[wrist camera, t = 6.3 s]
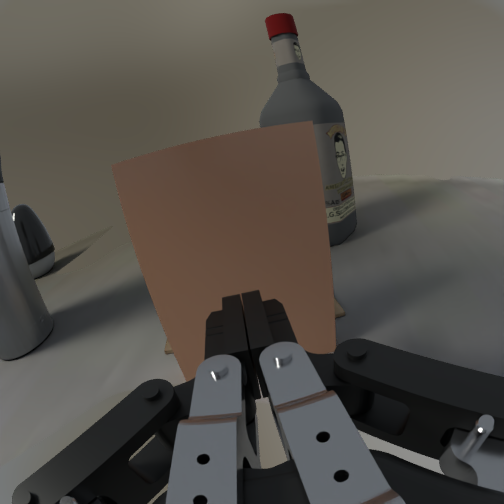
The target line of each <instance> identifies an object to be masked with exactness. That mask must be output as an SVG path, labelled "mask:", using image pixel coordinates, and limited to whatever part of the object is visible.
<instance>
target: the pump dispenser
mask: <svg viewBox="0 0 504 504" xmlns="http://www.w3.org/2000/svg"><path fill="white" fill-rule="evenodd" d="M11 214H12V217H13V221H14V224H15V227H16V231H17V234H18V237H19V240H20V243H21V246H22V249H23V252H24V254H25V257H26V260H27V263H28V265H29V268H30V270H31V273H32V275H33V278H34V279H35V278H38V277H40V276H42V275H44V274H46V273H47V272H48V271H50V269H51V268H52V266H53V264H54V260H55V254H54V250H55V248H54V245H53V242H52V240H51V238H50V236H49V234H48V232H47V230H46V228H45V227H44V225H43V224H42V222H41V221H40V219H39V217H38V216H37V215H36V213H35V212H34V211H33V210H32V209H31V208H30V207H29V206H28V205H25V204H19V205H18V206H16V207H14V209H13V210H12V212H11Z"/></svg>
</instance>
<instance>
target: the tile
mask: <svg viewBox="0 0 504 504" xmlns="http://www.w3.org/2000/svg"><path fill="white" fill-rule="evenodd" d="M112 171H113V175H114V179H115V183H116V187H117V191H118V195H119V199H120V202H121V206H122V209H123V213H124V216H125V220H126V224H127V227H128V230H129V233H130V237H131V240H132V243H133V246H134V250H135V253H136V256H137V259H138V262H139V265H140V268H141V271H142V273H143V276H144V279H145V282H146V285H147V287H148V290H149V293H150V296H151V298H152V301H153V304H154V306H155V309H156V311H157V314H158V316H159V319H160V321H161V324H162V326H163V329H164V331H165V334H166V336H167V338H168V341H169V343H170V345H171V348H172V350H173V352H174V355H175V357H176V359H177V361H178V364H179V366H180V368H181V370H182V372H183V374H184V377H185V379H186V381H187V382H188V381H190V380H191V379H193V378H195V376H196V371H197V368H198V366H199V365H200V364H201V363H202V362H203V361H204V356H205V337H206V336H205V331H206V319H207V318H208V316H209V315H210V313H211V312H214V311H219V310H222V297H226V296H231V295H236V294H240V296H241V300H242V295H241V293H245V292H250V291H254V290H259V291H260V295H261V298H262V301H266V300H270V299H276V300H278V301H279V302H280V303H282V304H283V306H284V309H285V311H286V314H287V316H288V320H289V321H290V324H291V326H292V329H293V331H294V334H295V337H296V339H297V342H298V344H299V345H300V346H302V347H303V348H304V350H306V351H308V352H310V353H315V354H326V353H330V352H333V351H335V349H336V330H335V309H334V292H333V278H332V265H331V253H330V243H329V233H328V224H327V215H326V207H325V199H324V191H323V184H322V177H321V170H320V163H319V157H318V151H317V145H316V139H315V133H314V127H313V122H312V121H305V122H297V123H289V124H282V125H275V126H269V127H263V128H257V129H251V130H246V131H240V132H235V133H230V134H225V135H220V136H215V137H211V138H206V139H202V140H197V141H194V142H189V143H185V144H181V145H177V146H173V147H169V148H166V149H162V150H158V151H155V152H151V153H148V154H145V155H142V156H138V157H134V158H131V159H128V160H125V161H122V162H119V163H116V164H113V165H112ZM242 304H243V301H242ZM243 308H244V307H243Z"/></svg>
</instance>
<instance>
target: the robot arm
mask: <svg viewBox="0 0 504 504" xmlns="http://www.w3.org/2000/svg"><path fill="white" fill-rule="evenodd" d="M241 295H242V300H241V296H240V294H236V295H231V296H226V297H222V310H219V311H214V312H211V313H210V315H209V316H208V318H207V319H206V331H205V336H206V337H205V356H204V361H203V362H202V363H201V364H200V365H199V366H198V368H197V371H196V376H195V378H193V379H191V380H190V381H188V382H185V383H183V384H180V385H178V386H175V387H173V386H172V385H171V383H170V382H168V381H166V380H163V379H153V380H149V381H146V382H144V383H142V384H141V385H140V386H138V387H137V388H136V389H135V390H134V391H132V392H131V393H130V394H129V395H128V396H127V397H125V398H124V399H123V400H122V401H121V402H120V403H119V404H117V405H116V406H115V407H114V408H113V409H111V410H110V411H109V412H108V413H107V414H106V415H104V416H103V417H102V418H101V419H100V420H98V421H97V422H96V423H95V424H94V425H92V426H91V427H90V428H89V429H88V430H87V431H85V432H84V433H83V434H82V435H80V436H79V437H78V438H77V439H76V440H75V441H73V442H72V443H71V444H69V446H67V447H66V448H65V449H63V450H62V451H61V452H60V453H58V454H57V455H56V456H55V457H54V458H52V459H51V460H50V461H49V462H47V463H46V464H45V465H44V466H42V467H41V468H40V469H39V470H37V471H36V472H35V473H33V474H32V475H31V476H30V477H29V478H27V479H26V480H25V481H23V482H22V483H21V484H19V485H18V486H17V487H16V489H15V490H14V493H13V496H12V504H147V503H148V502H149V501H150V500H151V499H152V498H154V496H155V495H156V494H158V493H159V492H160V491H161V490H162V489H163V488H164V487H165V486H166V484H167V483H168V482H169V483H168V490H167V491H166V492H164V493H163V494H162V495H161V496H159V497H158V498H157V499H156V500H155V501H154V502H153V504H504V377H501V376H497V375H492V374H488V373H484V372H480V371H476V370H472V369H468V368H464V367H460V366H456V365H453V364H449V363H445V362H441V361H438V360H434V359H431V358H427V357H423V356H420V355H416V354H413V353H410V352H406V351H403V350H399V349H396V348H393V347H389V346H386V345H383V344H379V343H376V342H373V341H370V340H366V339H350V340H347V341H345V342H343V343H341V344H339V345H338V346H337V347H336V349H335V351H334V354H315V353H310V352H308V351H306V350H304V348H303V347H302V346H300V345H299V344H298V342H297V339H296V337H295V334H294V331H293V329H292V326H291V324H290V321H289V320H288V316H287V314H286V311H285V309H284V306H283V304H282V303H280V302H279V301H278V300H276V299H270V300H266V301H262V298H261V295H260V291H259V290H254V291H250V292H245V293H241ZM242 301H243V304H242ZM243 307H244V308H243ZM52 328H53V320H52V318H51V316H50V314H49V312H48V310H47V308H46V306H45V303H44V301H43V299H42V297H41V294H40V292H39V290H38V287H37V285H36V283H35V280H34V278H33V275H32V273H31V270H30V268H29V265H28V263H27V260H26V257H25V254H24V252H23V249H22V246H21V243H20V240H19V237H18V234H17V231H16V227H15V224H14V221H13V217H12V214H11V210H10V207H9V203H8V199H7V195H6V190H5V186H4V183H3V177H2V171H1V157H0V359H3V360H10V359H14V358H17V357H20V356H22V355H24V354H26V353H28V352H29V351H31V350H32V349H34V348H35V347H36V346H38V345H39V344H40V343H41V342H42V341H43V340H44V339H45V338H46V337H47V336H48V335H49V333H50V332H51V330H52ZM257 376H258V378H257ZM258 380H259V383H258ZM259 384H260V388H261V391H262V395H263V398H265V397H268V398H269V402H270V406H271V410H272V414H273V417H274V420H275V423H276V427H277V430H278V432H279V436H280V439H281V442H282V445H283V447H284V451H285V454H286V457H287V460H288V461H286V462H284V463H282V464H280V465H277V466H275V467H273V468H268V469H262V468H261V464H260V455H259V454H260V453H259V438H258V422H257V415H256V403H255V400H256V399H261V394H260V388H259ZM357 429H358V430H360V431H362V432H365V433H367V434H369V435H372V436H374V437H377V438H379V439H382V440H384V441H387V442H389V443H392V444H394V445H397V446H400V447H402V448H405V449H408V450H411V451H413V452H417V453H419V454H422V455H425V456H428V457H431V458H434V459H437V460H439V464H440V468H441V470H442V472H443V473H444V475H443V474H440V473H437V472H434V471H432V470H429V469H426V468H423V467H421V466H418V465H416V464H413V463H410V462H408V461H406V460H404V459H401V458H399V457H396V456H394V455H391V454H389V453H385V452H382V451H377V450H371V449H368V448H367V446H366V444H365V443H364V441H363V439H362V437H361V436H360V434H359V432H358V430H357ZM152 435H155V437H154V438H153V439H152V440H151V441H150V442H149V443H148V444H147V445H146V446H145V447H144V448H143V449H142V450H141V451H140V452H139V453H138V454H136V456H134V457H133V458H132V459H131V460H130V461H129V458H130V457H131V455H133V454H134V453H135V452H136V451H137V450H138V449H139V448H140V447H141V446H142V445H143V444H144V443H145V442H146V441H147V440H148V439H149V438H150V437H152Z"/></svg>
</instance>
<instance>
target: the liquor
mask: <svg viewBox="0 0 504 504" xmlns="http://www.w3.org/2000/svg"><path fill="white" fill-rule="evenodd" d="M265 23H266V27H267V31H268V35H269V39H270V40H271V41H272V47H273V51H274V56H275V61H276V64H277V70H278V79H277V81H278V86H277V87H276V89H275V91H274V92H273V94H272V96H271V97H270V99H269V100H268V102H267V103H266V105H265V107H264V108H263V110H262V112H261V116H260V121H259V122H260V127H261V128H263V127H269V126H275V125H282V124H289V123H297V122H305V121H312V122H313V127H314V133H315V139H316V145H317V151H318V157H319V163H320V170H321V177H322V184H323V191H324V199H325V207H326V215H327V224H328V233H329V243H330V246H333V245H338V244H341V243H342V242H343V241H344V240H345V239H346V238H347V237H348V236H349V235H350V234H351V233H352V232H353V231H354V229H355V227H356V225H357V220H356V208H355V197H354V188H353V179H352V171H351V163H350V156H349V149H348V142H347V135H346V129H345V123H344V118H343V112H342V109H341V108H340V106H339V104H338V102H337V101H336V100H334V99H333V98H332V97H331V96H330V95H328V94H327V93H326V92H324V90H322V89H321V88H320V87H319V86H317V85H316V84H315V83H313V82H312V81H311V80H310V78H309V74H308V73H307V72H306V69H305V65H304V61H303V57H302V53H301V49H300V46H299V42H298V38H297V36H298V33H297V29H296V26H295V22H294V19H293V16H292V15H291V14H286V13H279V14H274V15H271V16H269V17H267V18H266V20H265Z"/></svg>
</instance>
